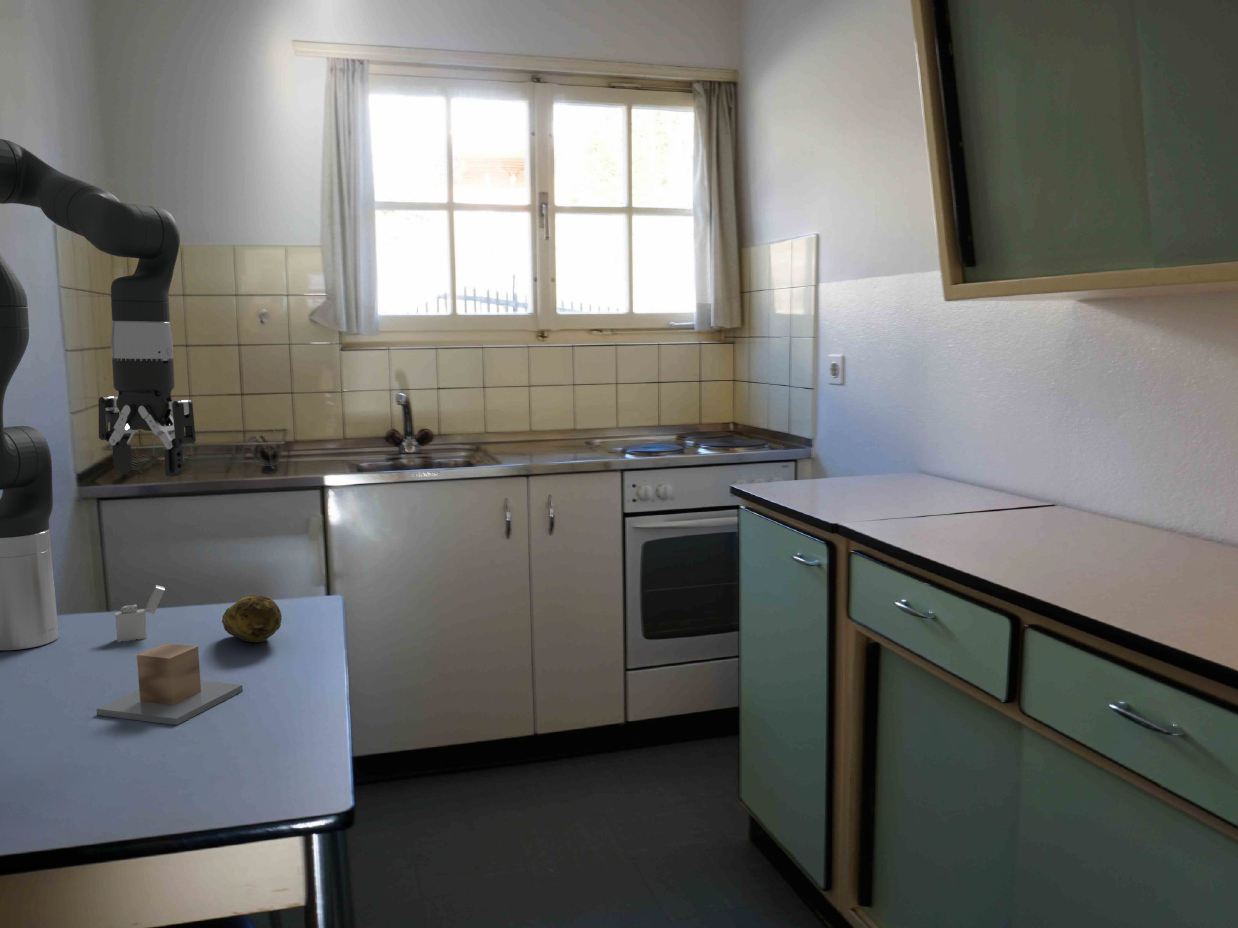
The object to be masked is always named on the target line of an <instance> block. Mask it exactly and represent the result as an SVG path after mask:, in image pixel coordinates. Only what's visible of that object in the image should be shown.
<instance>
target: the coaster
mask: <svg viewBox="0 0 1238 928" xmlns="http://www.w3.org/2000/svg"><path fill="white" fill-rule="evenodd" d="M200 684H201V692H199V693H197V694H195V695H193V696H191V697H189V698H187V699H184V700H182V701H180V702H178V703H176V704H174V705H167V704H159V703H151V702H143V701H140V691H139V689H137V690H135V691H133V692H130V693H128V694H125V695H124V696H122V697H120V698H117V699H115V700H113V701H110V702H108V703H106V704H104V705H101V706H99V707H97V708H96V716H103V717H110V718H112V717H113V718H117V719H127V720H132V721H133V720H135V721H143V722H150V723H157V724H167V725H174V726H178V725H179V724H182V723H183V722H185V721H188V720H190V719H191V718H194V717H195V716H197V715H199V714H202V713H203V712H204V711H207V710H208V709H211V708H212V707H214V706H217V705H219V704H220V703H222V702H224V701H225V700H228V699H229V698H232V697H234V696H236V695H238V694H240V693H242V692H243V691H244V689H243V688H244V687H243V685H242V684H237V683H227V682H217V681H210V680H209V681H208V680H201V679H200Z"/></svg>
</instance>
